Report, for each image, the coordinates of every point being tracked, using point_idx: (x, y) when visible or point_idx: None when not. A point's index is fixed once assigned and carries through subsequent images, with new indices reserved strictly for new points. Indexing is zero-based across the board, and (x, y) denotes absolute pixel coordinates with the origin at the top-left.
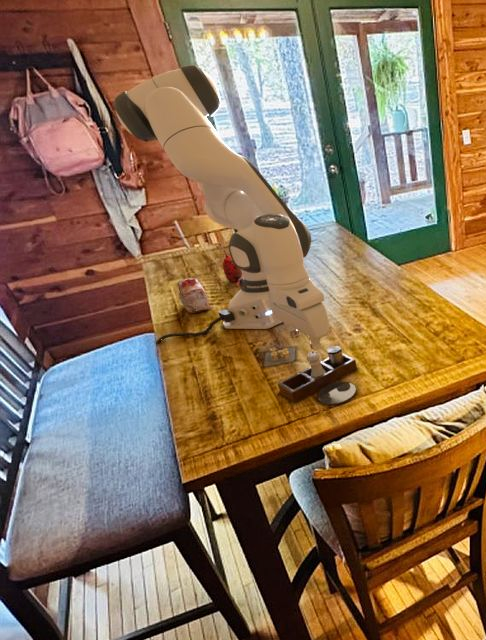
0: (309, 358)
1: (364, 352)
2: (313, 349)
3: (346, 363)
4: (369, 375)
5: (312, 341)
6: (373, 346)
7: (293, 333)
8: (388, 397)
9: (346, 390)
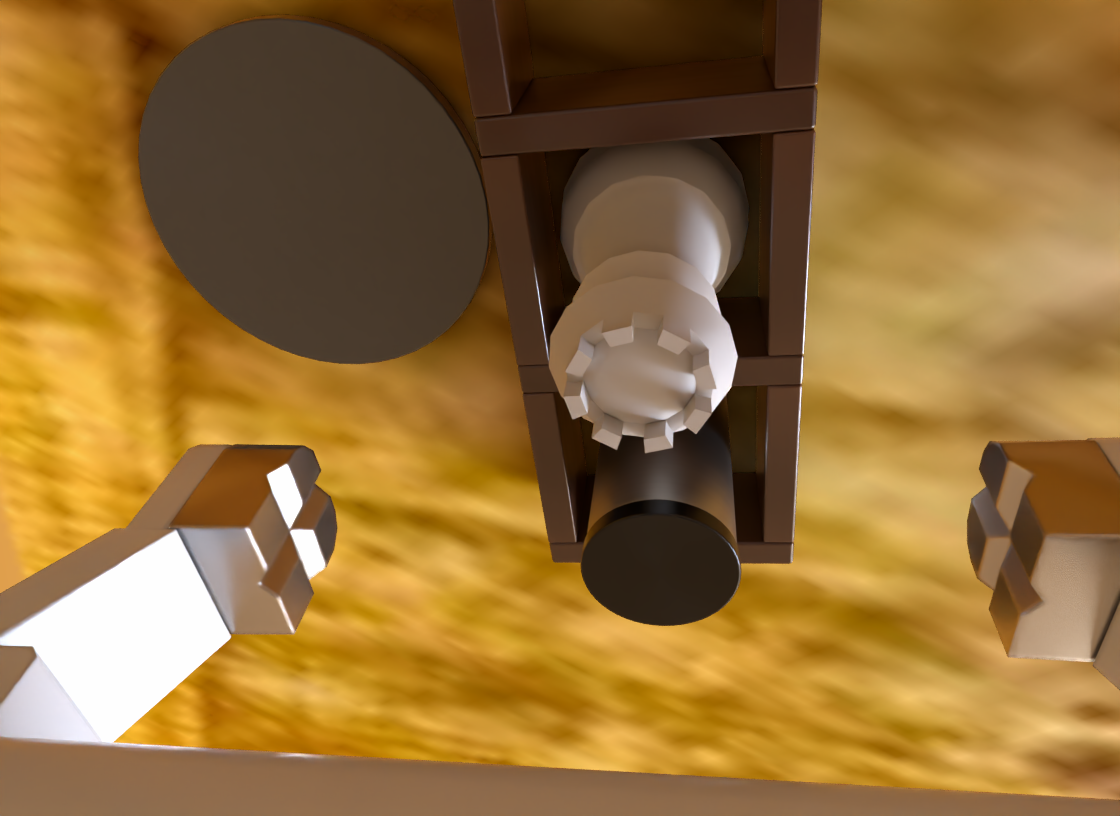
0: (614, 308)
1: (744, 633)
2: (195, 454)
3: (549, 495)
4: (415, 496)
5: (2, 599)
6: (760, 698)
7: (1027, 547)
8: (60, 425)
9: (291, 283)
